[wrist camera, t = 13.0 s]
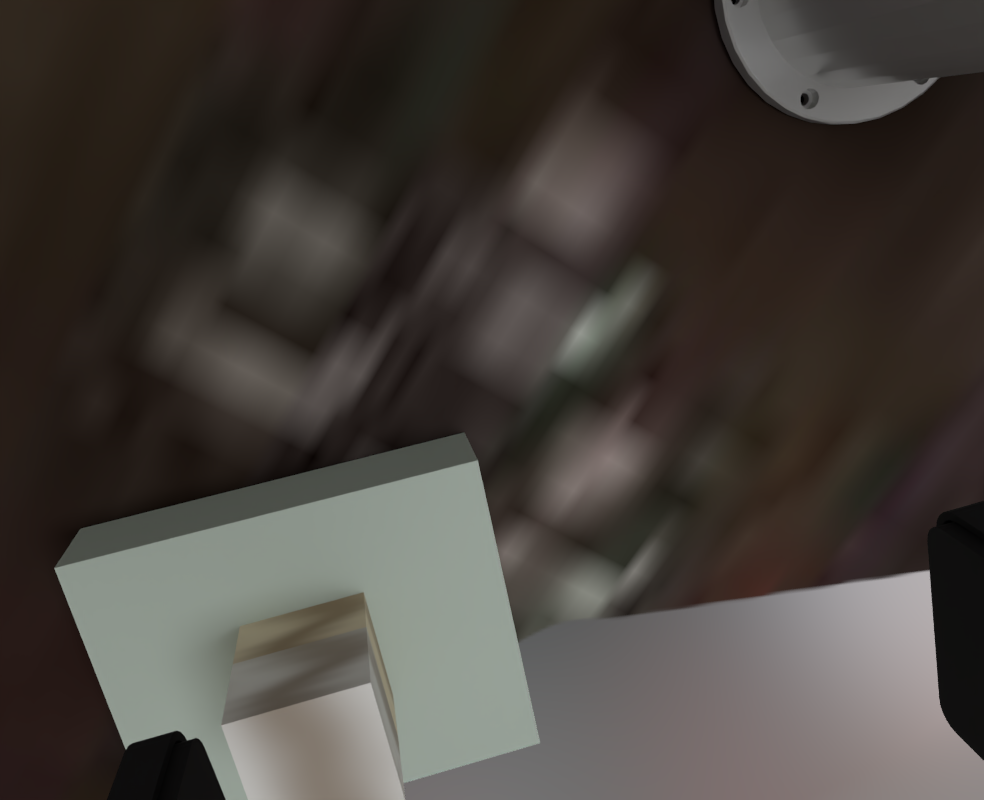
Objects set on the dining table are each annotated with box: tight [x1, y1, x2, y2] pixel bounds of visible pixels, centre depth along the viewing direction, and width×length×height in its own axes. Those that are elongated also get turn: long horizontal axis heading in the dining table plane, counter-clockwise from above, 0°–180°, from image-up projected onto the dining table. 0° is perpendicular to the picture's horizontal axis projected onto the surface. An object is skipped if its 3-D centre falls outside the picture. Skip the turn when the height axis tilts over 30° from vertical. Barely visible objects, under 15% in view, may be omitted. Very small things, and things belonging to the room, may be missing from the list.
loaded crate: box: [221, 592, 405, 800], centre depth 36 cm, size 6×6×7 cm
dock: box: [54, 433, 540, 800], centre depth 41 cm, size 18×15×4 cm
